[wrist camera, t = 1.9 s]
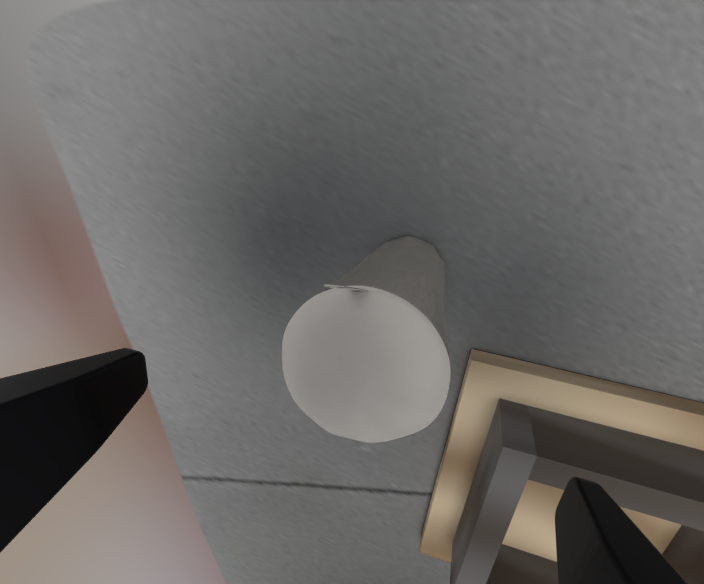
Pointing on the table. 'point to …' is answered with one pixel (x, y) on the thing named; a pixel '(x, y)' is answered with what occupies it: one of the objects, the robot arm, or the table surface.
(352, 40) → the table surface
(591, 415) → the dock
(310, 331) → the milkshake
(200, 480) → the table surface
